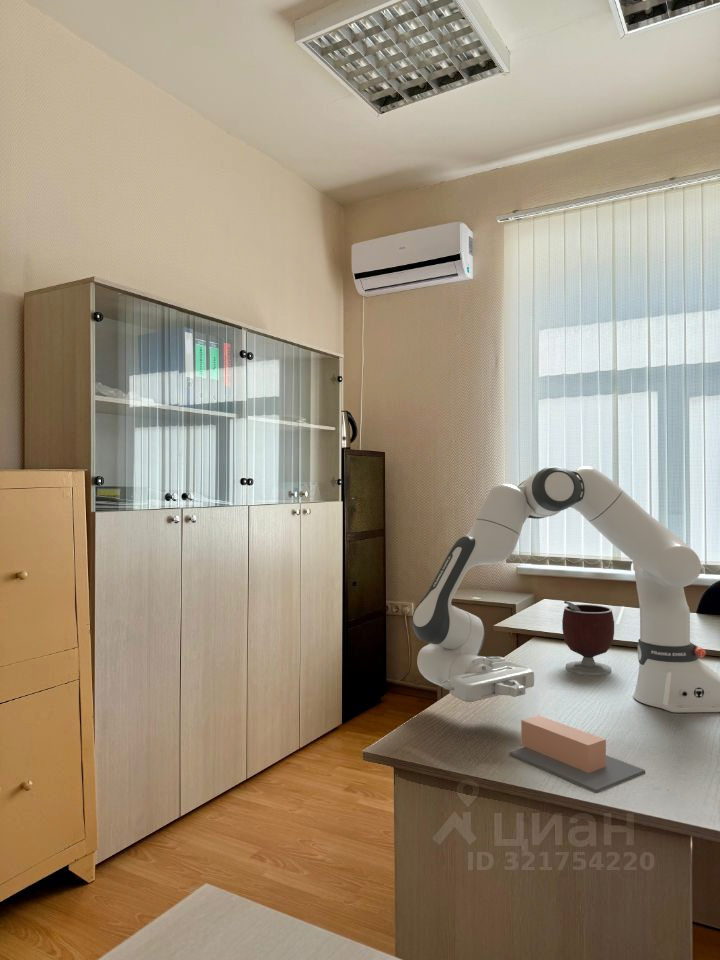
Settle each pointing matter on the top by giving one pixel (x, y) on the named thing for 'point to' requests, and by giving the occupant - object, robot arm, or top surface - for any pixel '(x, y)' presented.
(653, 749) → the top surface
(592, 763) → the terracotta block
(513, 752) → the charcoal mat
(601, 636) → the mate gourd
